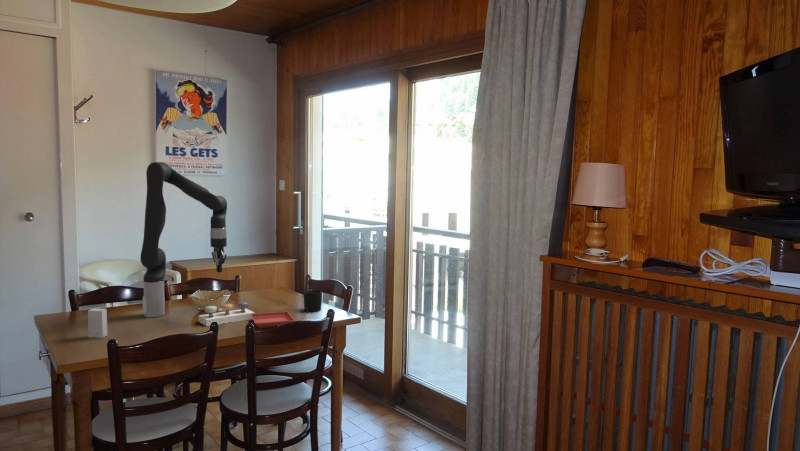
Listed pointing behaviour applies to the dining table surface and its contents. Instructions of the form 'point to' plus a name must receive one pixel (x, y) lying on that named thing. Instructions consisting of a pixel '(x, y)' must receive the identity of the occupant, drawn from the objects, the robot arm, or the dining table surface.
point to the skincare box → (97, 323)
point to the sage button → (210, 310)
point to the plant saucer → (271, 319)
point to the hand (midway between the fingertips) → (219, 272)
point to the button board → (226, 317)
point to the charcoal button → (242, 306)
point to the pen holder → (312, 300)
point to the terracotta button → (227, 308)
